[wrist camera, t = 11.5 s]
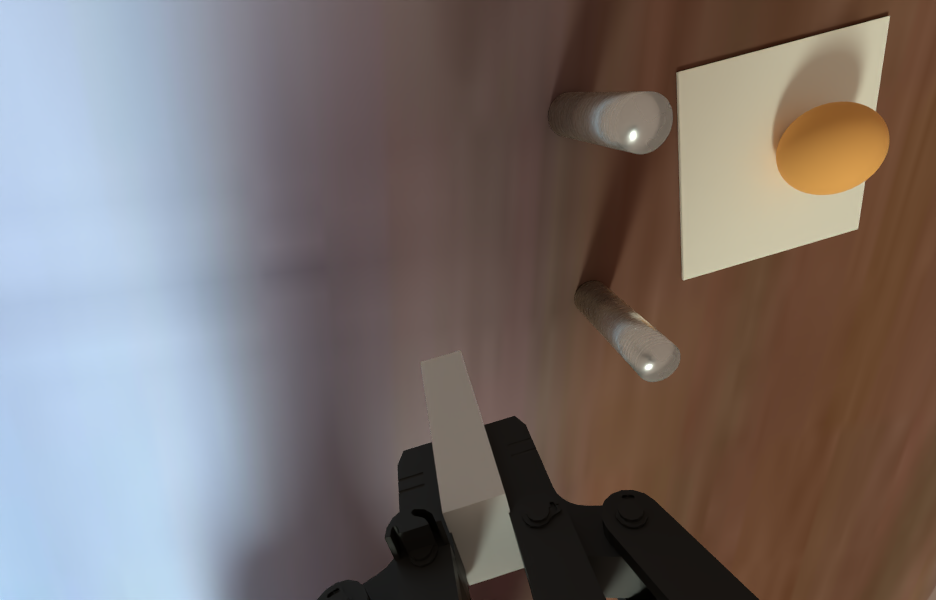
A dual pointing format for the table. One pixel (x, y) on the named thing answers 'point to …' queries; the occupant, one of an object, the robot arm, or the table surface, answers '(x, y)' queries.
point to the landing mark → (765, 145)
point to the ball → (832, 148)
